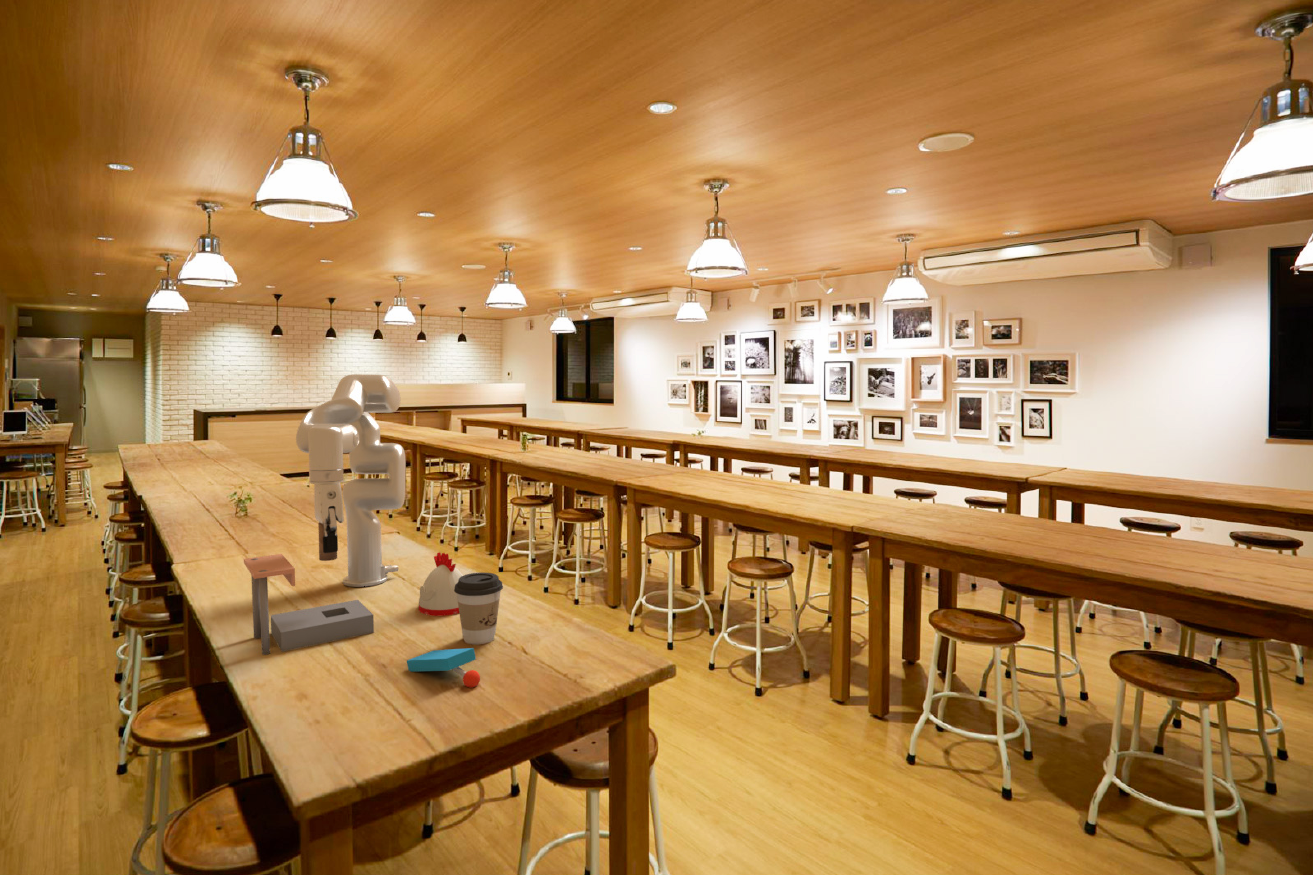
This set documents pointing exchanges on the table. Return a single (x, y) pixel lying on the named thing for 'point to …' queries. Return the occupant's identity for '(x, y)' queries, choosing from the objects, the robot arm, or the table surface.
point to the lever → (447, 663)
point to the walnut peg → (322, 555)
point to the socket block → (321, 624)
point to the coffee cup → (478, 606)
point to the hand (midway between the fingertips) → (328, 549)
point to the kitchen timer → (440, 588)
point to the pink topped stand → (265, 591)
